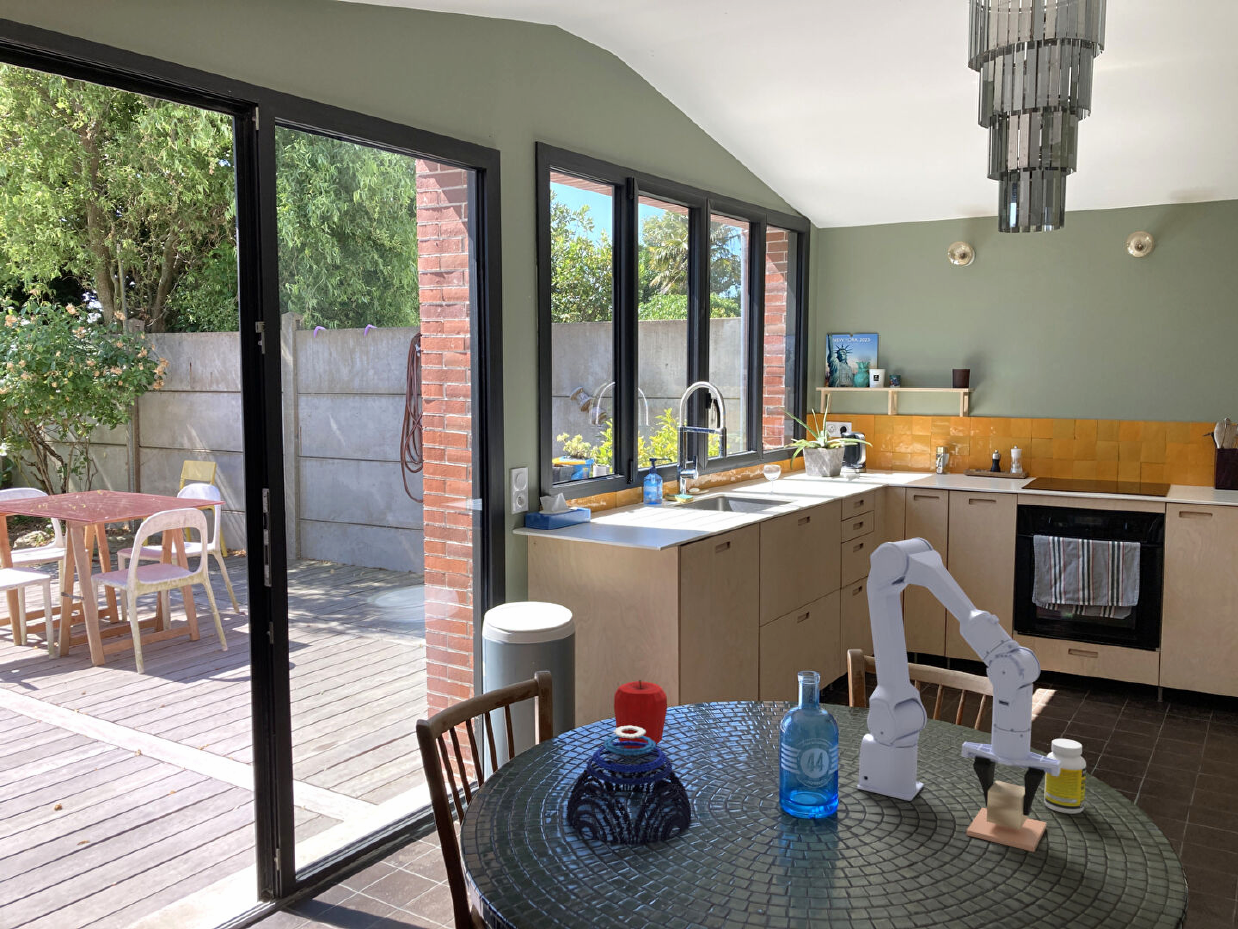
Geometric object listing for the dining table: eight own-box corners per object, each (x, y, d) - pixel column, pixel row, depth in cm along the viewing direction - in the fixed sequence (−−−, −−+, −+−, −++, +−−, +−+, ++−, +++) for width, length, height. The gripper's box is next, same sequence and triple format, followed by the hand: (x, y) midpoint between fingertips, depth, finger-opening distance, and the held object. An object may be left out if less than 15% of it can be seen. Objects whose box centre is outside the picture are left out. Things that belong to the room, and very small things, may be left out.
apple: (667, 759, 186) (668, 688, 185) (613, 758, 187) (613, 687, 185) (665, 738, 197) (666, 672, 196) (614, 738, 197) (614, 671, 196)
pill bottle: (1088, 816, 163) (1091, 751, 162) (1048, 813, 165) (1051, 748, 164) (1078, 801, 169) (1082, 738, 168) (1040, 797, 171) (1043, 735, 170)
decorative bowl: (715, 815, 163) (717, 730, 162) (634, 858, 148) (635, 765, 147) (625, 781, 176) (626, 702, 175) (543, 817, 162) (543, 731, 160)
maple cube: (986, 821, 157) (988, 791, 156) (994, 810, 161) (996, 780, 160) (1019, 830, 154) (1021, 799, 153) (1027, 818, 158) (1028, 788, 158)
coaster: (966, 835, 156) (966, 830, 156) (981, 812, 165) (982, 807, 165) (1033, 852, 151) (1034, 847, 151) (1046, 827, 159) (1046, 822, 159)
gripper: (957, 724, 157) (954, 806, 158) (1056, 742, 149) (1052, 830, 150) (969, 711, 163) (965, 791, 164) (1064, 729, 155) (1060, 813, 156)
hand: (1007, 809), depth 157 cm, fingers closed on maple cube, 5 cm apart
